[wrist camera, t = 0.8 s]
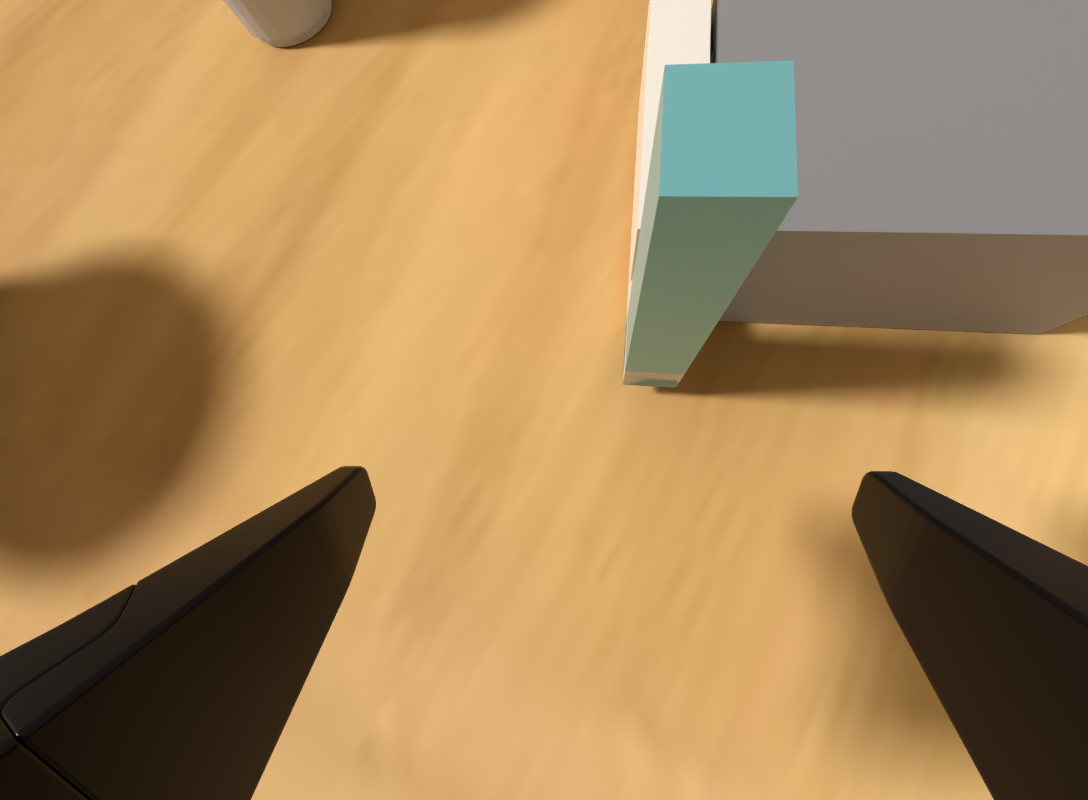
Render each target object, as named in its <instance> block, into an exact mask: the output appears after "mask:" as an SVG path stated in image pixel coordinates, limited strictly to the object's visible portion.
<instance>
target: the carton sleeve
mask: <svg viewBox="0 0 1088 800" xmlns="http://www.w3.org/2000/svg"><path fill="white" fill-rule="evenodd" d="M710 53H713V63H733V62H763V61H792V60H794V90H795V120H796V150H797V179H798V198H797V200H796V201H795V203H794V204H793V206H792V207H791V209H790V210H789V212H788V214H787V215H786V217H785V218H784V220H783V221H782V223H781V224H780V226H779V228H778V229H777V231H776V232H775V234H774V235H773V237H772V239H771V240H770V242H769V243H768V245H767V246H766V248H765V249H764V251H763V253H762V254H761V256H760V257H759V259H758V260H757V262H756V264H755V265H754V267H753V268H752V270H751V271H750V273H749V274H748V276H747V278H746V279H745V281H744V282H743V284H742V285H741V287H740V288H739V290H738V292H737V293H736V295H735V296H734V298H733V299H732V301H731V303H730V304H729V306H728V307H727V309H726V310H725V312H724V313H723V315H722V317H721V318H720V320H719V321H728V322H753V323H777V324H801V325H826V326H850V327H874V328H899V329H923V330H947V331H972V332H996V333H1020V334H1041V333H1044V332H1046V331H1049V330H1051V329H1054V328H1057V327H1059V326H1062V325H1064V324H1067V323H1069V322H1072V321H1074V320H1077V319H1079V318H1082V317H1084V316H1087V315H1088V0H713V3H712V8H711V30H710Z"/></svg>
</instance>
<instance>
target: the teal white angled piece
mask: <svg viewBox="0 0 1088 800" xmlns="http://www.w3.org/2000/svg"><path fill="white" fill-rule="evenodd" d="M710 30H711V0H650V1H649V11H648V21H647V31H646V41H645V51H644V61H643V71H642V81H641V91H640V101H639V116H638V133H637V150H636V167H635V184H634V200H633V217H632V234H631V251H630V268H629V285H628V301H627V318H626V335H625V352H624V369H623V384H624V385H640V386H657V387H673V388H676V387H677V385H678V384H679V382H680V381H681V379H682V377H683V376H684V374H685V373H686V371H687V370H688V368H689V367H690V365H691V363H692V362H693V360H694V359H695V357H696V356H697V354H698V352H699V351H700V349H701V348H702V346H703V345H704V343H705V342H706V340H707V338H708V337H709V335H710V334H711V332H712V331H713V329H714V328H715V326H716V324H717V323H718V321H719V320H720V318H721V317H722V315H723V313H724V312H725V310H726V309H727V307H728V306H729V304H730V303H731V301H732V299H733V298H734V296H735V295H736V293H737V292H738V290H739V288H740V287H741V285H742V284H743V282H744V281H745V279H746V278H747V276H748V274H749V273H750V271H751V270H752V268H753V267H754V265H755V264H756V262H757V260H758V259H759V257H760V256H761V254H762V253H763V251H764V249H765V248H766V246H767V245H768V243H769V242H770V240H771V239H772V237H773V235H774V234H775V232H776V231H777V229H778V228H779V226H780V224H781V223H782V221H783V220H784V218H785V217H786V215H787V214H788V212H789V210H790V209H791V207H792V206H793V204H794V203H795V201H796V200H797V198H798V179H797V150H796V120H795V90H794V60H792V61H763V62H733V63H713V53H710Z"/></svg>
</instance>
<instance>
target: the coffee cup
mask: <svg viewBox="0 0 1088 800" xmlns="http://www.w3.org/2000/svg"><path fill="white" fill-rule="evenodd" d="M224 2H225V3H226V4H227V5H228V7H229V8H230V9H231V10H232V11H233V13H234V14H235V15H236V16H237V18H238V19H239V20H240V21H241V23H242V24H243V25H244V26H245V27H246V29H247V30H248V31H249V32H250V33H251V34H252V35H253V36H255V37H257V38H259V39H261V41H262V42H264V43H266V44H268V45H270V46H276V47H289V46H293V45H296V44H300V43H302V42H304V41H306V40H308V39H310V38H311V37H313V36H314V35H315V34H316V33H318V32H319V31H320V30H321V29H322V27H323V26H324V25H325V24H326V22H327V20H328V19H329V17H330V14H331V10H332V0H224Z"/></svg>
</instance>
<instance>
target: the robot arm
mask: <svg viewBox="0 0 1088 800" xmlns="http://www.w3.org/2000/svg"><path fill="white" fill-rule="evenodd" d="M375 508H376V500H375V496H374V492H373V489H372V486H371V483H370V479H369V476H368V473H367V471H366V469H365V468H364V467H361V466H343V467H340V468H338V469H336V470H334V471H333V472H331V473H329V474H327V475H326V476H324V477H322V478H320V479H319V480H317V481H315V482H313V483H311V484H310V485H308V486H306V487H304V488H303V489H301V490H299V491H297V492H296V493H294V494H292V495H290V496H289V497H287V498H285V499H283V500H281V501H280V502H278V503H276V504H274V505H273V506H271V507H269V508H267V509H266V510H264V511H262V512H260V513H258V514H257V515H255V516H253V517H251V518H250V519H248V520H246V521H244V522H243V523H241V524H239V525H237V526H235V527H234V528H232V529H230V530H228V531H227V532H225V533H223V534H221V535H220V536H218V537H216V538H214V539H213V540H211V541H209V542H207V543H205V544H204V545H202V546H200V547H198V548H197V549H195V550H193V551H191V552H190V553H188V554H186V555H184V556H182V557H181V558H179V559H177V560H175V561H174V562H172V563H170V564H168V565H167V566H165V567H163V568H161V569H159V570H158V571H156V572H154V573H152V574H151V575H149V576H147V577H145V578H144V579H142V580H140V581H139V582H138V583H137V585H131V586H129V587H127V588H126V589H124V590H122V591H120V592H119V593H117V594H115V595H113V596H112V597H110V598H108V599H106V600H105V601H103V602H101V603H99V604H97V605H95V606H94V607H92V608H90V609H88V610H86V611H85V612H83V613H81V614H79V615H77V616H76V617H74V618H72V619H70V620H68V621H66V622H65V623H63V624H61V625H59V626H57V627H55V628H53V629H52V630H50V631H48V632H46V633H44V634H42V635H40V636H38V637H36V638H34V639H32V640H31V641H29V642H27V643H25V644H23V645H21V646H19V647H17V648H15V649H13V650H11V651H9V652H8V653H6V654H4V655H2V656H0V800H251V798H252V796H253V794H254V792H255V789H256V787H257V785H258V783H259V781H260V779H261V776H262V774H263V772H264V770H265V768H266V765H267V763H268V761H269V759H270V757H271V755H272V752H273V750H274V748H275V746H276V744H277V742H278V739H279V737H280V735H281V733H282V731H283V729H284V726H285V724H286V722H287V720H288V718H289V716H290V713H291V711H292V709H293V707H294V705H295V703H296V700H297V698H298V696H299V694H300V692H301V690H302V687H303V685H304V683H305V681H306V679H307V677H308V674H309V672H310V670H311V668H312V666H313V664H314V661H315V659H316V657H317V655H318V653H319V651H320V648H321V646H322V644H323V642H324V640H325V638H326V635H327V633H328V631H329V629H330V627H331V625H332V622H333V620H334V618H335V616H336V614H337V612H338V609H339V607H340V605H341V603H342V601H343V599H344V596H345V594H346V592H347V589H348V587H349V585H350V582H351V580H352V577H353V574H354V572H355V569H356V566H357V563H358V560H359V557H360V554H361V551H362V548H363V545H364V542H365V539H366V536H367V533H368V530H369V528H370V525H371V522H372V519H373V516H374V513H375ZM852 519H853V522H854V525H855V527H856V530H857V532H858V535H859V537H860V539H861V542H862V544H863V547H864V549H865V551H866V554H867V556H868V559H869V561H870V564H871V566H872V568H873V571H874V573H875V576H876V578H877V580H878V583H879V585H880V588H881V590H882V592H883V594H884V597H885V599H886V601H887V603H888V605H889V607H890V609H891V611H892V613H893V615H894V617H895V619H896V621H897V623H898V624H899V626H900V628H901V630H902V632H903V634H904V635H905V637H906V639H907V641H908V643H909V645H910V646H911V648H912V650H913V652H914V654H915V656H916V658H917V659H918V661H919V663H920V665H921V667H922V669H923V670H924V672H925V674H926V676H927V678H928V680H929V681H930V683H931V685H932V687H933V689H934V691H935V692H936V694H937V696H938V698H939V700H940V702H941V703H942V705H943V707H944V709H945V711H946V713H947V714H948V716H949V718H950V720H951V722H952V724H953V726H954V727H955V729H956V731H957V733H958V735H959V737H960V738H961V740H962V742H963V744H964V746H965V748H966V749H967V751H968V753H969V755H970V757H971V759H972V760H973V762H974V764H975V766H976V768H977V770H978V771H979V773H980V775H981V777H982V779H983V781H984V783H985V784H986V786H987V788H988V790H989V792H990V794H991V795H992V797H993V799H994V800H1088V566H1086V565H1084V564H1082V563H1080V562H1078V561H1076V560H1074V559H1072V558H1070V557H1068V556H1066V555H1064V554H1062V553H1060V552H1058V551H1056V550H1054V549H1052V548H1050V547H1048V546H1046V545H1044V544H1042V543H1040V542H1038V541H1035V540H1033V539H1031V538H1029V537H1027V536H1025V535H1023V534H1021V533H1019V532H1017V531H1015V530H1013V529H1011V528H1009V527H1007V526H1005V525H1003V524H1001V523H999V522H997V521H995V520H993V519H991V518H989V517H987V516H985V515H983V514H981V513H978V512H976V511H974V510H972V509H970V508H968V507H966V506H964V505H962V504H960V503H958V502H956V501H954V500H952V499H950V498H948V497H946V496H944V495H942V494H940V493H938V492H936V491H934V490H932V489H930V488H928V487H926V486H923V485H921V484H919V483H917V482H915V481H913V480H911V479H909V478H907V477H905V476H903V475H901V474H899V473H897V472H891V471H871V472H868V473H866V474H865V475H864V477H863V479H862V481H861V484H860V487H859V490H858V492H857V495H856V498H855V501H854V504H853V507H852Z"/></svg>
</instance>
